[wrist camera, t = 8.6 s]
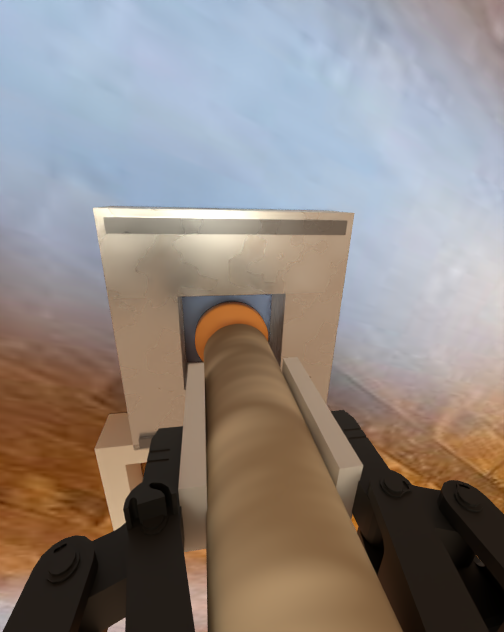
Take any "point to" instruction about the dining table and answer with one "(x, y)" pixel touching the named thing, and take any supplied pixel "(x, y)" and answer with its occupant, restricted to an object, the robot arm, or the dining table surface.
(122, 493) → the holder
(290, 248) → the grey square frame
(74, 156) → the dining table surface
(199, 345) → the button
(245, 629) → the brown wooden cylinder
